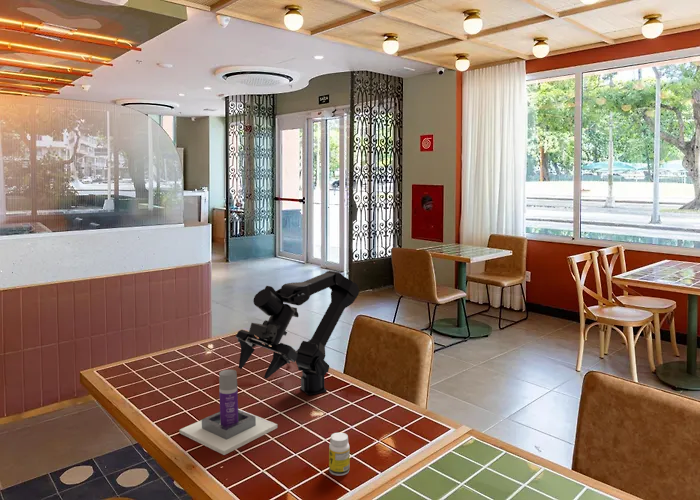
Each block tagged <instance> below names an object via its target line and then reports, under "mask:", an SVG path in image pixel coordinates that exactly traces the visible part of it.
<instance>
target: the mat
mask: <svg viewBox="0 0 700 500" xmlns="http://www.w3.org/2000/svg"><path fill="white" fill-rule="evenodd" d="M238 410H240V411H243V412H245V413H248V414H250V415H253V416H255V417H256V426H254V427H252V428H250V429H247V430H245V431H243V432H241V433H239V434H237V435H235V436H233V437H231V438H229V439H227V440H226V439H224V438H221V437H219V436H217V435H215V434H213V433H211V432H209V431H206V430H204V429H202V419H201V420H198V421H196V422H194V423H191V424H189V425H187V426H185V427H182V428H180V429H179V434H181V435H183V436H184V437H186V438H189V439H191V440H192V441H195V442H196V443H199V444H200V445H202V446H205V447H206V448H209V449H210V450H212V451H215V452H217V453H219V454H221V455H223V456H226V455H227V454H229V453H231V452H233V451H235V450H237V449H239V448H241V447H243V446H245V445H247V444H248V443H251V442H252V441H254V440H256V439H258V438H261V437H263V436H264V435H267V434H268V433H271V432H272V431H274V430H276V429H278V423H275V422H273V421H270V420H267V419H266V418H263V417H260V416H258V415H255V414H253V413H250V412H247V411H244V409H243V410H242V409H240V408H238ZM238 422H239V421H238ZM219 424H220V423H219Z"/></svg>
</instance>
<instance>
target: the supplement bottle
mask: <svg viewBox="0 0 700 500" xmlns="http://www.w3.org/2000/svg"><path fill="white" fill-rule="evenodd" d="M350 453H351V451H350V444H349V436H348V434H347V433H345V432H334V433H332V434H331V435H330V443H329V445H328V471H329V473H330V474H331V475H333V476H338V477H340V476H345V475H347V474H349V471H350V469H351V468H350V467H351V466H350V462H351V461H350V455H351V454H350Z"/></svg>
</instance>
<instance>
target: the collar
mask: <svg viewBox="0 0 700 500" xmlns="http://www.w3.org/2000/svg"><path fill="white" fill-rule="evenodd" d="M240 410H241V409H240ZM240 410H238V421H239V422H237V423H235V424H233V425H231V426H229V427H225V426H223V425H220V424H219V423H220V411H218V412H216V413H213V414H211V415H209V416H206V417H204V418H202V419H201V420H202V429H204V430H206V431H209V432H211V433H213V434H215V435H217V436H219V437H221V438H224V439H226V440H227V439H229V438H231V437H233V436H235V435H237V434H239V433H241V432H243V431H245V430H247V429H250V428H252V427H254V426H256V417H255V416H256V415H255V416H253V415H254V414H253V415H250V414H251V413H250V414H248V413H249V412H248V413H245V412H246V411H245V412H243V411H244V410H243V411H240Z"/></svg>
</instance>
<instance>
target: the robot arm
mask: <svg viewBox="0 0 700 500" xmlns="http://www.w3.org/2000/svg"><path fill="white" fill-rule="evenodd" d="M325 289H330V290H331V291H330V300H331V301H330V303H329V305H328V307H327V309H326V310H325V312H324V314H323V316H322V318H321V320H320V322H319V324H318V325H317V327H316V330H315V331H314V333H313V335H312V337H311V338H310V339H309V340H308V341H307V340H302V341H301V343H300V345H299V347H298V348H297V350H295V348H293V346H291V345H288V344H285V343H282V342H281V340H282V338H283V337H284V336H285V337H286V336H287V334H288V332H287V331H286V330H287V328H288V326H289V324H290V322H291V320H292V319H293V318H294V317H295V318H299V313H298V308H297V307H293V306H302V305H303V304H305V303H306V302H308V301H309V300H310V297H312V296H313V295H314V294H316V293H319V292H322V291H324V290H325ZM359 293H360V288H359V286H358V284H357V283H356V282H353V281H352V280H351V279H350V278H347V277H345V276H344V275H343V274H342V273H341V272H339V271H334V270H326V271H325V272H324V273H322V274H319V275H317V276H314V277H312V278H309V279H307V280H304V281H301V282H288V283H285V284H283V285H281V287H280V288H278V289H277V290H275V288H274V287H273V286H269V285H266V286H265V287H264V288H263V289H260V290H259V291H258V292H257V293H255V295H254V298H253V300H252V301H253V305H254V306H255V307H257V308H258V309H259V310H260V311H262V312H263V314H265V315H266V316H269V319H268V320H266V319H265V320H264V321H263V322H262V323H258V322H257V323H256V322H251V324H250V327H249V330H245V329H240V330H238V331H237V333H236V335H235V338H236V339H237V343H239V345H240V353H239V354H240V356H239V360H238V368H239V369H240V370H242V369H243V367H244V366H245V365H246V364H247V362H248V361H249V360H250V358H251V356H252V354H253V353H254V352H255V350H256V348H254V347H256V346H258V347H261V348H264V349H267V350H270V351H272V352H273V353H272V359H271V361H270V363H269V365H268V367H267V369H266V371H265V374H264V376H263V378H264V379H265V380H267V379H268V378H269V377H271V376H273V374H275V373H276V372H277V371H278V370H279V369H281V368H282V367H284V366H286V364H291V362H292V363H295V364H296V365H297V369H298V371H301V372H302V373H301V375H302V376H301V377H300V389H301V391H302V392H304V393H305V394H306V395H308V396H312V395H317V394H321V393H326V392H327V391H328V390H327V389H326V388H325V375H326V374H328V373H329V369H330V364H328V363H327V361H325V358H326V345H327V343H328V341H329V339H330V338H331V335H332V334H333V332H334V330H335V328H336V326H337V324H338V322H339V321H340V319H341V317H342V315H343V313H344V311H345V309H347V308H349V307H350V306H351V305H353V303H354V302H355V301H356V299H357V298H358V296H359ZM291 305H293V306H291Z"/></svg>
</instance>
